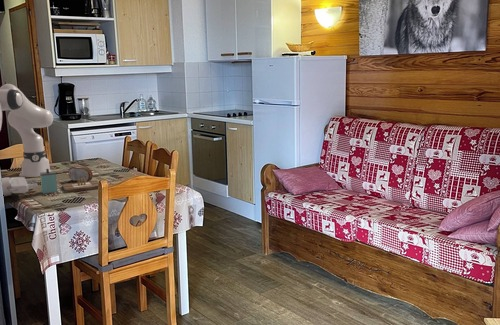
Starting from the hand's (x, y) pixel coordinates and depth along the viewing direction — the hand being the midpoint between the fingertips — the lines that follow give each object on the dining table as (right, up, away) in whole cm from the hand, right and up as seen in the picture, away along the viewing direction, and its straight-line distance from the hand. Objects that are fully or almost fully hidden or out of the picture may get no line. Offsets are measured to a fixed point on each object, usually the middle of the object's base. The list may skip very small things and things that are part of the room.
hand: (36, 183), depth 255 cm
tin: (+14, 0, +26) cm, 29 cm away
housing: (+5, -5, +3) cm, 8 cm away
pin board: (+19, -3, +11) cm, 22 cm away
